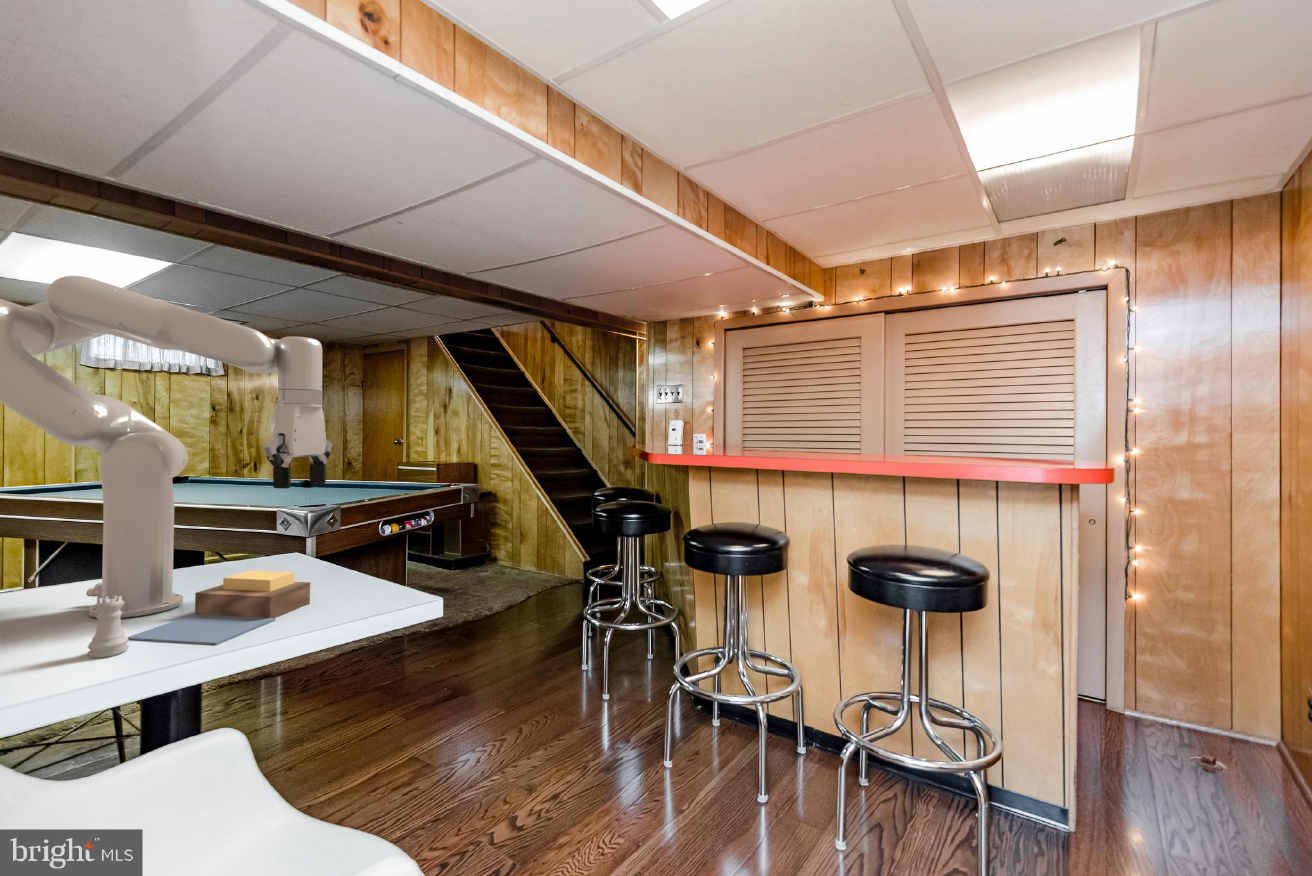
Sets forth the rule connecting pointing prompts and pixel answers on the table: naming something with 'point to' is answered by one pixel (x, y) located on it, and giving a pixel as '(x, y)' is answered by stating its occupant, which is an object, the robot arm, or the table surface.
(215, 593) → the wooden block
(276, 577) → the yellow kitchen sponge
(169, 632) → the mat
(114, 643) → the rook chess piece
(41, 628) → the table surface
